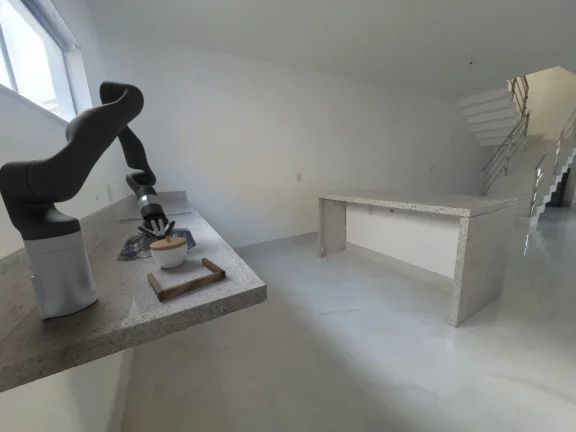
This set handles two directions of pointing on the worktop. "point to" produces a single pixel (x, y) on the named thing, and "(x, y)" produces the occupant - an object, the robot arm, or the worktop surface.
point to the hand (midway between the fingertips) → (163, 246)
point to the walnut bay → (187, 286)
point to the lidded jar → (169, 251)
